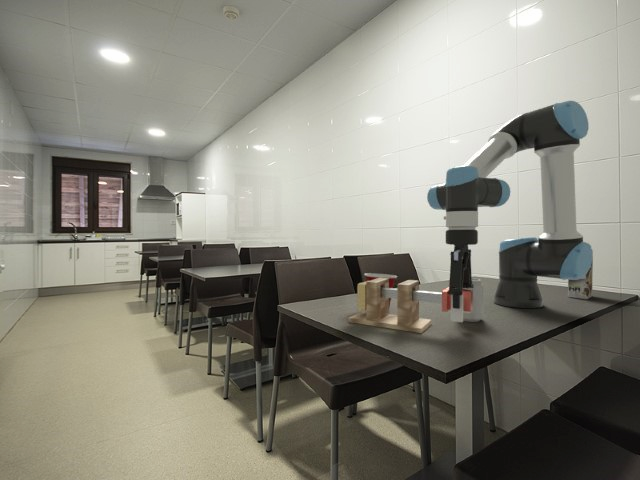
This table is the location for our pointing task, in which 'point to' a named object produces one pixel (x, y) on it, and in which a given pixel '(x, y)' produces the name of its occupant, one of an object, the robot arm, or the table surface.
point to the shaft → (433, 297)
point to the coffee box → (581, 286)
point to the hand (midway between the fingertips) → (461, 316)
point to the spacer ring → (362, 296)
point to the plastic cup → (374, 276)
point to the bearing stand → (380, 307)
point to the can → (476, 303)
